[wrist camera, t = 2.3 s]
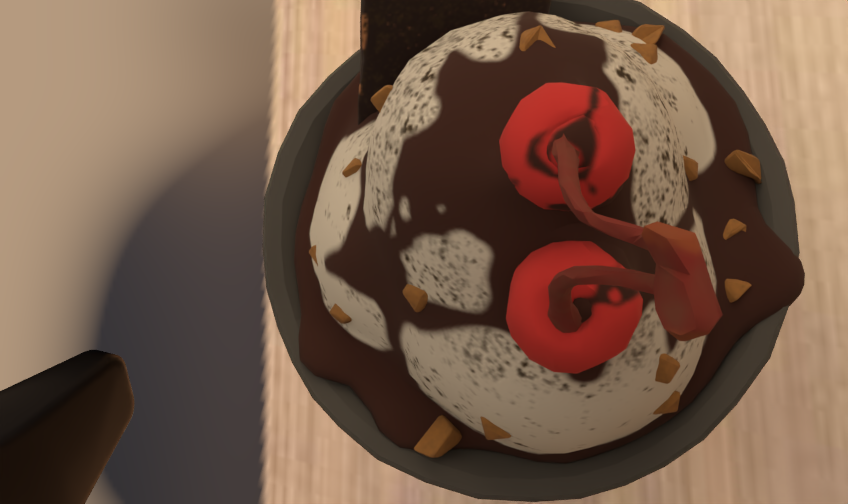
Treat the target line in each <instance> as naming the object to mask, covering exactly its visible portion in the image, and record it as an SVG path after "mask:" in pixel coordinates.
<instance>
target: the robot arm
mask: <svg viewBox="0 0 848 504" xmlns="http://www.w3.org/2000/svg"><path fill="white" fill-rule="evenodd" d="M133 411H134V396H133V392H132V388H131V384H130V380H129V376H128V372H127V369H126V364H125V362H124V360H123V359H122V358H121V357H120V356H118V355H115V354H111V353H107V352H103V351H99V350H89V351H86V352H83V353H81V354H79V355H77V356H75V357H72V358H70V359H68V360H66V361H64V362H62V363H60V364H57V365H55V366H53V367H51V368H49V369H47V370H45V371H43V372H40V373H38V374H36V375H34V376H32V377H30V378H28V379H26V380H23V381H21V382H19V383H17V384H15V385H13V386H11V387H8V388H7V389H4V390H2V391H0V504H85V502H86V500H87V498H88V497H89V495H90V493H91V491H92V489H93V488H94V486H95V484H96V482H97V480H98V478H99V477H100V475H101V473H102V471H103V469H104V467H105V466H106V464H107V462H108V460H109V458H110V456H111V455H112V453H113V451H114V449H115V447H116V445H117V444H118V442H119V440H120V438H121V436H122V434H123V433H124V430H125V429H126V427H127V425H128V423H129V421H130V419H131V417H132V414H133Z"/></svg>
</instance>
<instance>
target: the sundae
mask: <svg viewBox="0 0 848 504" xmlns="http://www.w3.org/2000/svg"><path fill="white" fill-rule="evenodd" d="M360 46H361V49H360V50H358V51H357V52H355V53H354V54H353V55H352V56H351V57H350V58H349V59H348V60H346V61H345V62H344V63H343V64H342V65H341V66H340V67H338V68H337V69H336V70H335V71H334V72H333V73H332V74H331V75H329V76H328V77H327V79H326V80H325V81H324V82H323V83H322V84H321V85H320V87H319V88H318V89H317V90H316V91H315V92H314V93H313V95H312V96H311V97H310V98H309V99H308V100H307V101H306V103H305V104H304V105H303V106H302V107H301V108H300V109H299V111H298V113H297V115H296V117H295V119H294V121H293V123H292V125H291V127H290V129H289V131H288V133H287V135H286V137H285V139H284V141H283V143H282V146H281V148H280V150H279V152H278V155H277V158H276V161H275V164H274V168H273V171H272V174H271V178H270V181H269V184H268V188H267V191H266V194H265V197H264V223H263V256H264V267H265V278H266V288H267V292H268V295H269V299H270V302H271V306H272V309H273V313H274V316H275V320H276V323H277V327H278V330H279V332H280V334H281V337H282V339H283V342H284V344H285V346H286V349H287V351H288V354H289V356H290V358H291V361H292V363H293V365H294V366H295V368H296V370H297V372H298V373H299V375H300V377H301V379H302V380H303V382H304V384H305V386H306V387H307V389H308V391H309V393H310V394H311V396H312V398H313V399H314V400H315V401H316V402H317V403H318V404H319V405H320V406H321V408H322V409H323V410H324V411H325V412H326V413H327V414H328V415H329V416H330V418H331V419H332V420H333V421H334V422H335V423H336V424H337V425H338V426H339V427H340V428H341V429H342V430H343V431H344V432H346V433H347V434H348V435H349V436H350V437H351V438H353V439H354V440H355V441H356V442H357V443H358V444H360V445H361V446H362V447H363V448H364V449H366V450H367V451H368V452H369V453H370V454H371V455H373V456H374V457H375V458H376V459H377V460H379V461H381V462H383V463H386V464H388V465H390V466H392V467H394V468H396V469H398V470H400V471H402V472H405V473H407V474H409V475H411V476H413V477H415V478H417V479H419V480H421V481H424V482H426V483H429V484H432V485H435V486H439V487H442V488H445V489H448V490H451V491H455V492H458V493H461V494H464V495H467V496H470V497H474V498H477V499H490V500H508V501H527V502H539V501H553V500H568V499H581V498H584V497H588V496H591V495H595V494H598V493H601V492H605V491H608V490H612V489H615V488H618V487H622V486H625V485H627V484H629V483H632V482H634V481H636V480H638V479H640V478H642V477H644V476H646V475H648V474H650V473H652V472H655V471H657V470H659V469H661V468H663V467H665V466H666V465H668V464H669V463H671V462H672V461H674V460H675V459H677V458H678V457H679V456H681V455H682V454H684V453H685V452H687V451H688V450H690V449H691V448H693V447H694V446H695V445H697V444H698V443H700V442H701V441H703V440H704V439H705V438H706V437H707V436H708V435H709V434H710V433H711V432H712V430H713V429H714V428H715V427H716V426H717V425H718V424H719V423H720V422H721V421H722V420H723V419H724V418H725V417H726V415H727V414H728V413H729V412H730V411H731V410H732V409H733V408H734V407H735V406H736V405H737V403H738V402H739V401H740V399H741V398H742V396H743V395H744V394H745V392H746V391H747V389H748V388H749V387H750V385H751V384H752V382H753V381H754V380H755V378H756V377H757V375H758V374H759V373H760V371H761V370H762V368H763V367H764V366H765V364H766V363H767V361H768V360H769V359H770V357H771V354H772V351H773V348H774V346H775V343H776V340H777V337H778V335H779V332H780V329H781V326H782V324H783V321H784V318H785V315H786V313H787V310H788V307H789V306H790V305H791V304H792V303H793V302H794V301H795V300H796V298H797V297H798V296H799V295H800V294H801V291H802V289H803V286H804V277H805V273H804V270H803V266H802V263H801V261H800V259H799V253H800V252H799V242H798V233H797V223H796V213H795V203H794V198H793V194H792V190H791V186H790V182H789V178H788V174H787V171H786V167H785V163H784V160H783V158H782V156H781V154H780V152H779V150H778V148H777V146H776V144H775V142H774V140H773V138H772V136H771V134H770V132H769V131H768V129H767V127H766V125H765V123H764V121H763V120H762V118H761V117H760V115H759V114H758V112H757V111H756V109H755V108H754V106H753V105H752V103H751V102H750V100H749V99H748V97H747V96H746V94H745V92H744V91H743V90H742V89H741V87H740V86H739V85H738V84H737V82H736V81H735V80H734V79H733V77H732V76H731V75H730V74H729V72H728V71H727V70H726V69H725V68H724V66H723V65H722V64H721V63H720V61H719V60H718V59H717V58H716V57H715V56H714V55H713V54H712V53H710V52H709V51H708V50H707V49H706V48H705V47H703V46H702V45H701V44H700V43H699V42H697V41H696V40H695V39H694V38H693V37H692V36H690V35H689V34H688V33H687V32H686V31H684V30H683V29H682V28H680V27H678V26H677V25H675V24H674V23H672V22H671V21H669V20H668V19H666V18H664V17H663V16H661V15H660V14H658V13H657V12H655V11H653V10H652V9H650V8H649V7H647V6H646V5H644V4H642V3H641V2H638V1H635V0H361V16H360Z"/></svg>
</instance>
